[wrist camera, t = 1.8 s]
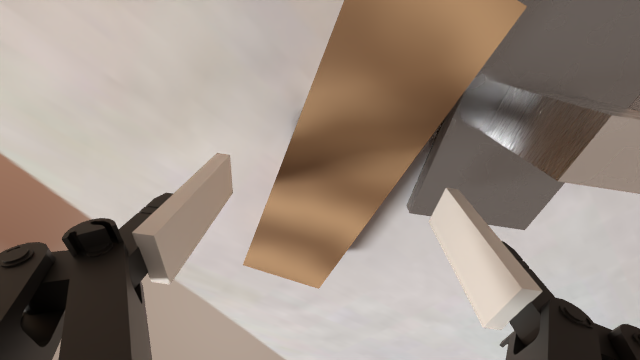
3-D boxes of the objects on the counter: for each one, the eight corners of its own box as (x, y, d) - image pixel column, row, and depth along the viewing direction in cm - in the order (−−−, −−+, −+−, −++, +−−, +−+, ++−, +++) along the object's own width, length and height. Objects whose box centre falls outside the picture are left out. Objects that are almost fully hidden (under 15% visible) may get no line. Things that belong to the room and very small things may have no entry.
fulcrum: (537, -97, 11) (793, -267, 5) (743, -61, 11) (1237, -178, 5) (406, 205, 20) (435, 275, 14) (516, 221, 20) (590, 297, 14)
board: (364, -49, 12) (378, -88, 8) (472, 15, 13) (527, 6, 9) (258, 227, 23) (242, 265, 19) (321, 249, 24) (318, 288, 21)
